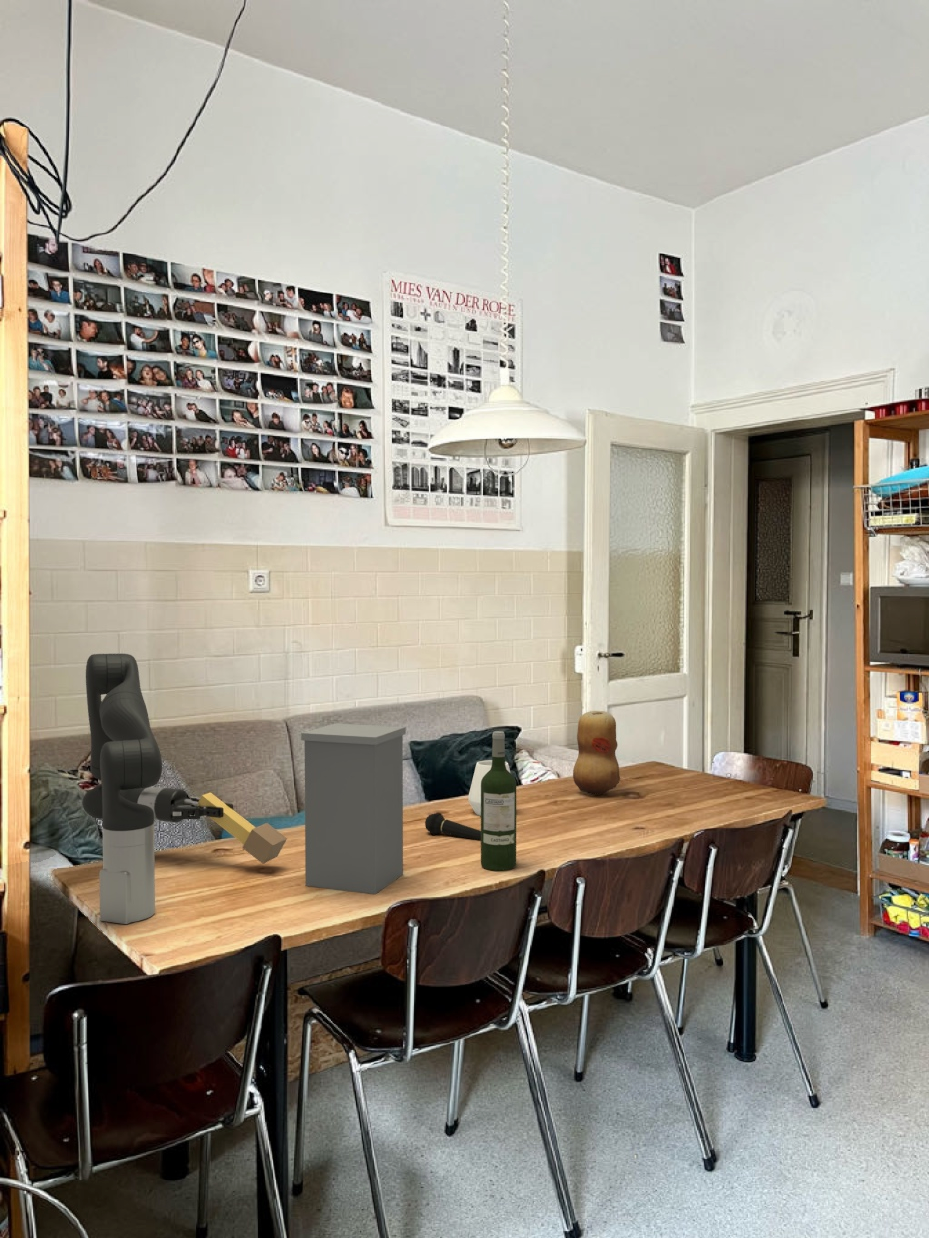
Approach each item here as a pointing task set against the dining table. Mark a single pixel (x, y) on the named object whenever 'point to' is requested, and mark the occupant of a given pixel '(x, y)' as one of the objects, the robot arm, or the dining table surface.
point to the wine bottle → (498, 812)
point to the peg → (247, 831)
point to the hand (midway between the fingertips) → (227, 810)
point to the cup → (479, 784)
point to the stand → (353, 807)
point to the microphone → (450, 827)
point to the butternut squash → (596, 753)
